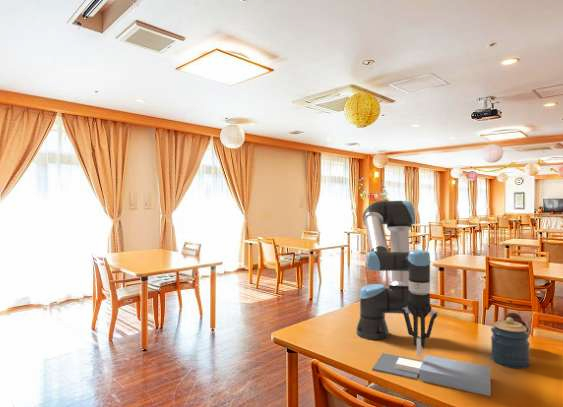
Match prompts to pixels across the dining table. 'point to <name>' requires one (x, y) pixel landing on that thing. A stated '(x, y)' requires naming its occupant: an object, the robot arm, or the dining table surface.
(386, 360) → the mat
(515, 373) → the dining table surface
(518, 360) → the canister
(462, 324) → the dining table surface
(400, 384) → the dining table surface
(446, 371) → the block
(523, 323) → the ice cream bowl
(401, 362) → the white rectangular block
